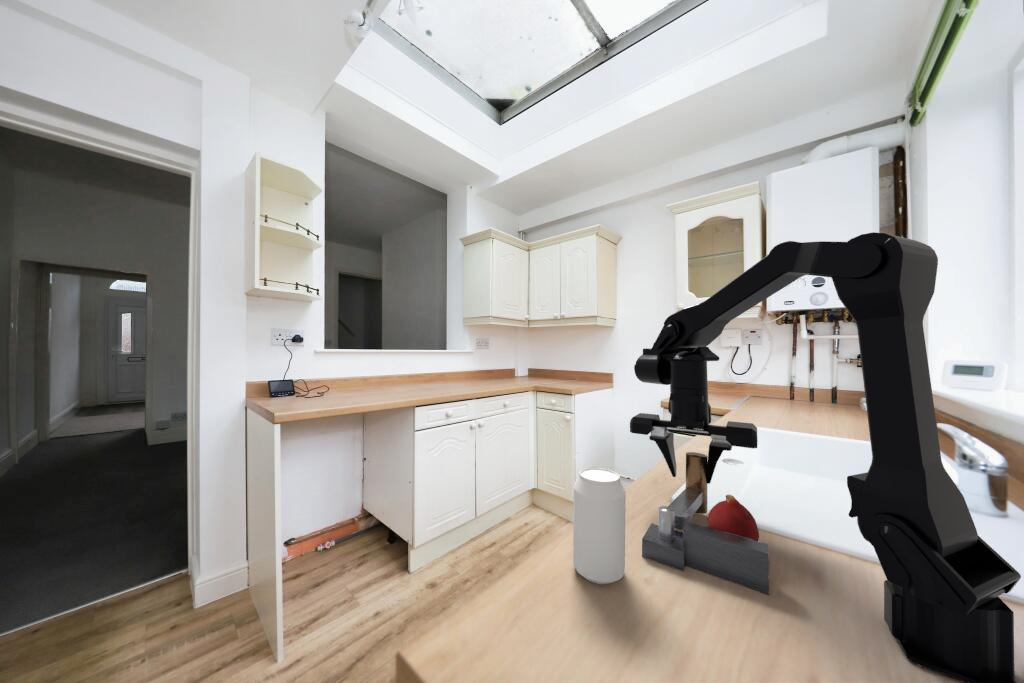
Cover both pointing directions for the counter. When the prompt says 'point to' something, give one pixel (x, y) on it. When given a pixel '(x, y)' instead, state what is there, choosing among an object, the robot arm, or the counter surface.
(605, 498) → the beverage can
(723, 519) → the onion
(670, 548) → the base
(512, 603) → the counter surface
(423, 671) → the counter surface
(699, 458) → the lever
